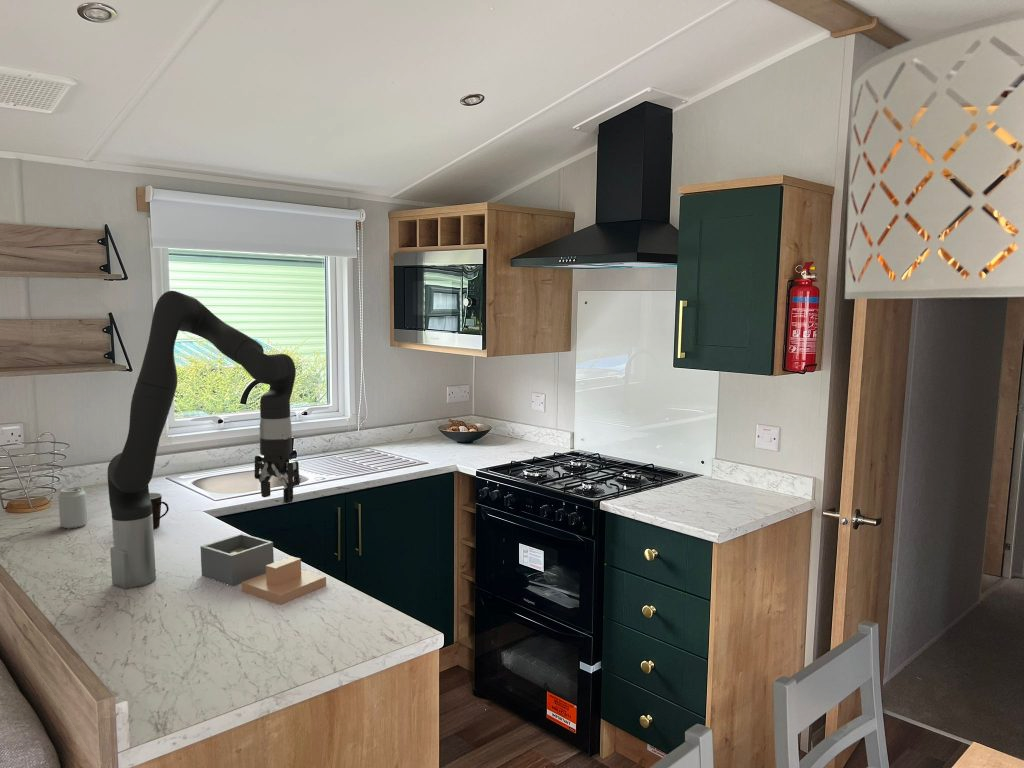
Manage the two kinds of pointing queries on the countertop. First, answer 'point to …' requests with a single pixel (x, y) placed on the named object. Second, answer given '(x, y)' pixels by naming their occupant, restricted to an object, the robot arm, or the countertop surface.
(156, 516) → the coffee mug
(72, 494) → the can
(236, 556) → the storage box
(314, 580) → the lid
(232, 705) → the countertop surface
